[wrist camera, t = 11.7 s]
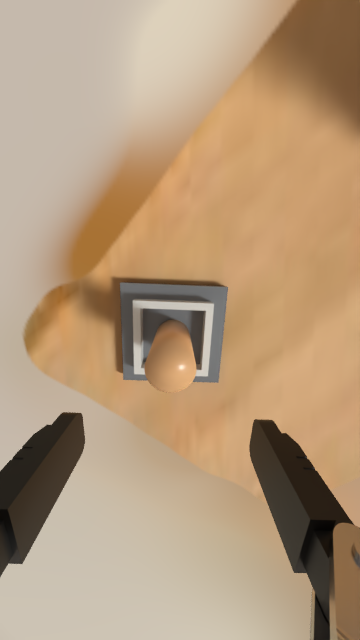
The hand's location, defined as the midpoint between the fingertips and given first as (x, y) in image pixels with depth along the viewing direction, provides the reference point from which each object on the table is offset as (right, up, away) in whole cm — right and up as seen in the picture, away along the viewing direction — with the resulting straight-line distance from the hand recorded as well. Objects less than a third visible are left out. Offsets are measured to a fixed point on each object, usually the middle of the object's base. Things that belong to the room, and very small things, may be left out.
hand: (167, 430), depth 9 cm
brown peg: (0, +3, +13) cm, 14 cm away
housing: (0, +4, +15) cm, 15 cm away
